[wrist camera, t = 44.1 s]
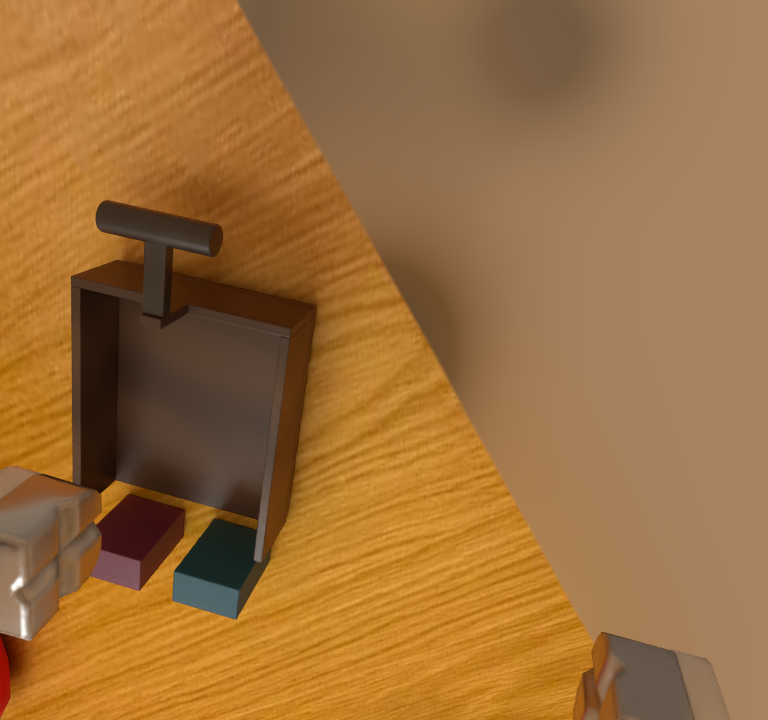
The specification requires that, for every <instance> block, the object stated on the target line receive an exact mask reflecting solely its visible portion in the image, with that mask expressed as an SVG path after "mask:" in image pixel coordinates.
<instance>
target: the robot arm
mask: <svg viewBox="0 0 768 720" xmlns="http://www.w3.org/2000/svg"><path fill="white" fill-rule="evenodd" d="M101 512H102V505H101V495H100V494H99V493H98V492H97V491H96V490H95V489H91V488H88V487H85V486H82V485H78V484H75V483H72V482H68V481H65V480H62V479H59V478H55V477H52V476H49V475H46V474H40V473H37V472H34V471H31V470H27V469H24V468H21V467H18V466H12V467H5V468H4V469H2V470H1V471H0V633H3V634H6V635H10V636H14V637H17V638H21V639H24V640H28V641H30V640H31V639H32V638H33V637H34V636H35V635H36V634H37V633H38V632H39V631H40V630H41V629H42V628H43V627H44V626H45V625H46V624H47V623H48V621H49V620H50V619H51V618H52V617H53V616H54V615H55V614H56V613H57V612H58V611H59V598H60V597H63V596H65V595H68V594H70V593H73V592H75V591H78V590H79V588H80V587H81V586H82V585H83V584H84V583H85V582H86V581H87V579H88V578H89V577H90V575H91V573H92V571H93V569H94V567H95V565H96V564H97V562H98V558H99V554H100V550H101V537H102V534H101V533H100V531H99V530H98V528H97V526H96V525H95V523H94V521H93V520H94V519H95V518H96V517H97V516H98V515H99V514H100V513H101ZM592 660H593V668H592V669H590V670H588V671H586V672H584V673H583V674H582V677H581V680H580V683H579V686H578V689H577V692H576V698H575V703H574V709H573V720H731V719H730V716H729V713H728V710H727V707H726V705H725V702H724V699H723V696H722V693H721V690H720V687H719V684H718V681H717V679H716V676H715V673H714V670H713V667H712V665H711V663H710V662H709V661H708V660H707V659H705V658H702V657H698V656H693V655H690V654H686V653H682V652H678V651H674V650H667V649H664V648H659V647H656V646H653V645H649V644H645V643H642V642H638V641H634V640H631V639H627V638H623V637H620V636H616V635H612V634H609V633H605V632H601V634H600V635H599V636H598V637H597V639H596V641H595V644H594V646H593V649H592Z"/></svg>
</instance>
